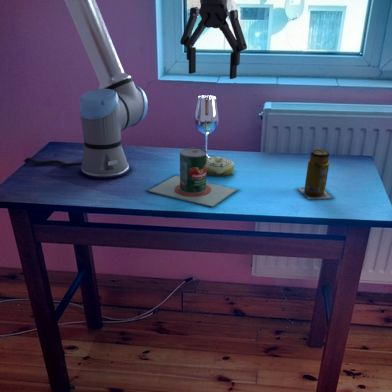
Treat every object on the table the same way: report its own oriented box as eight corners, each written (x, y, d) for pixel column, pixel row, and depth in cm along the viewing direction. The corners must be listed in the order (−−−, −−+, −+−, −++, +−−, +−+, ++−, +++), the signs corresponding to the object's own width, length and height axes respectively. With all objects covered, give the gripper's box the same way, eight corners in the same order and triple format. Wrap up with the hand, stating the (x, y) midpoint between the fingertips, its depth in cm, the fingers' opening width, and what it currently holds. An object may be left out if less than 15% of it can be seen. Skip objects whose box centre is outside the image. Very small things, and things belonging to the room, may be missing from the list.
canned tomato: (198, 195, 155) (199, 157, 149) (175, 191, 158) (174, 153, 151) (210, 187, 161) (211, 149, 154) (187, 182, 164) (187, 146, 157)
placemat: (148, 191, 159) (148, 189, 159) (175, 176, 169) (175, 174, 169) (212, 207, 150) (212, 205, 150) (236, 190, 161) (236, 188, 160)
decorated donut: (222, 180, 168) (222, 168, 165) (194, 173, 172) (194, 161, 170) (239, 170, 174) (240, 159, 172) (212, 164, 179) (212, 152, 177)
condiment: (321, 188, 163) (327, 147, 155) (331, 198, 156) (338, 157, 149) (298, 189, 162) (303, 149, 154) (308, 200, 155) (313, 158, 148)
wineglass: (203, 165, 178) (204, 101, 166) (189, 159, 183) (189, 96, 171) (221, 161, 182) (224, 97, 170) (207, 155, 187) (209, 93, 174)
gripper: (262, -12, 139) (256, 78, 152) (182, -16, 149) (182, 68, 162) (249, -10, 134) (244, 82, 147) (167, -15, 144) (169, 72, 157)
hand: (212, 75), depth 154 cm, fingers open, 13 cm apart
